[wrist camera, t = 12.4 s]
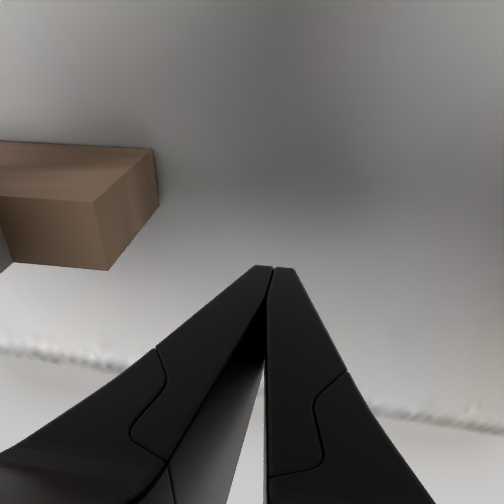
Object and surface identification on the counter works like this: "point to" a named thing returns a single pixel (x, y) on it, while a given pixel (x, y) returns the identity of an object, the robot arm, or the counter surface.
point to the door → (72, 203)
